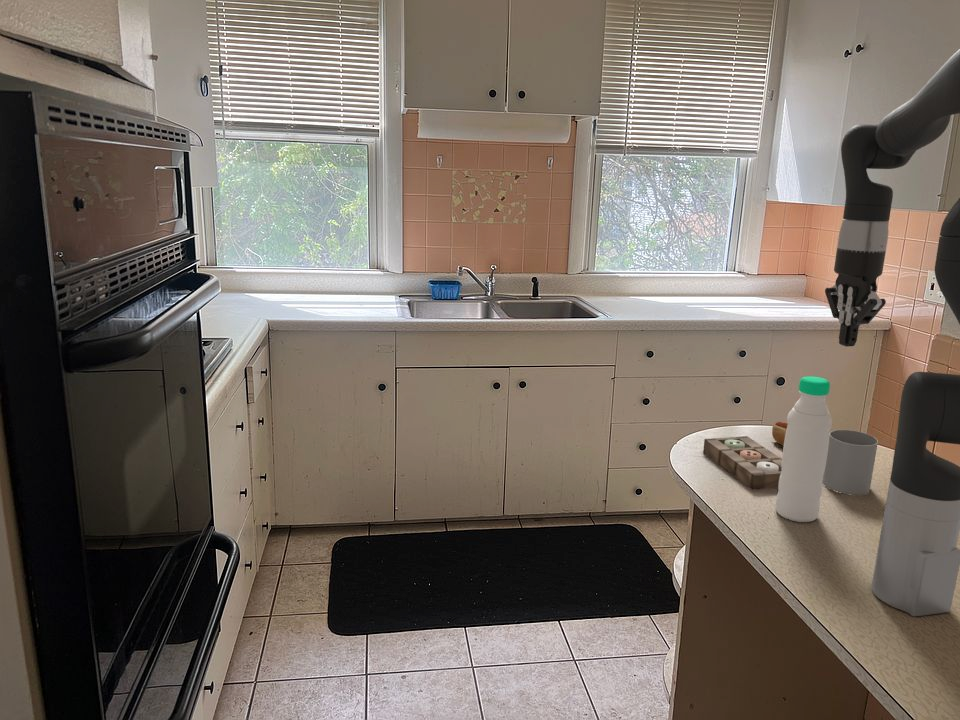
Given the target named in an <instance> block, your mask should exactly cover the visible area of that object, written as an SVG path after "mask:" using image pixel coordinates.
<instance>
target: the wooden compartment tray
mask: <svg viewBox="0 0 960 720" xmlns="http://www.w3.org/2000/svg"><path fill="white" fill-rule="evenodd" d="M729 439H733V440H739V441H742V442H744V443H745V447H744V448H735V449H730V448H728V447H727V446H726V445H724V444H725V441H726V440H729ZM703 442H704V443H703V453H704V454H705V455H706V456H707V457H709V458H710V459H712V460H713V461H714V462H715V463H717V464H718V465H719V466H721V467H722V468H723V469H724V470H726V471H727V472H729V473H730V475H732V476H734V477H735V478H736V479H738V480H739V481H740V482H742V483H743V484H744V485H745V486H747V487H748V488H750V489H751V490H752V491H757V490H768V489H779V487H778V486H779V478H780V475H781V468H782V457H780V456H778V455H777V454H775V453H774V452H772V451H771V450H769V449H768V448H766V447H764V446H763V445H762V444H760V443H758V442H757V441H756V440H754V439H752V438H751V437H749V436H747V435H746V436H730V437H729V436H727V437H717V438H715V437H714V438H704V441H703ZM743 450H752V451H756V452H758V453H760V454H761V459H754V460H745V459H744V458H743V457H741V456H740V452H741V451H743ZM758 462H771V463H774V464H776V465H778V466H779V470H778V471H774V472H762V471H761V470H760V469H758V468H757V463H758Z"/></svg>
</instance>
